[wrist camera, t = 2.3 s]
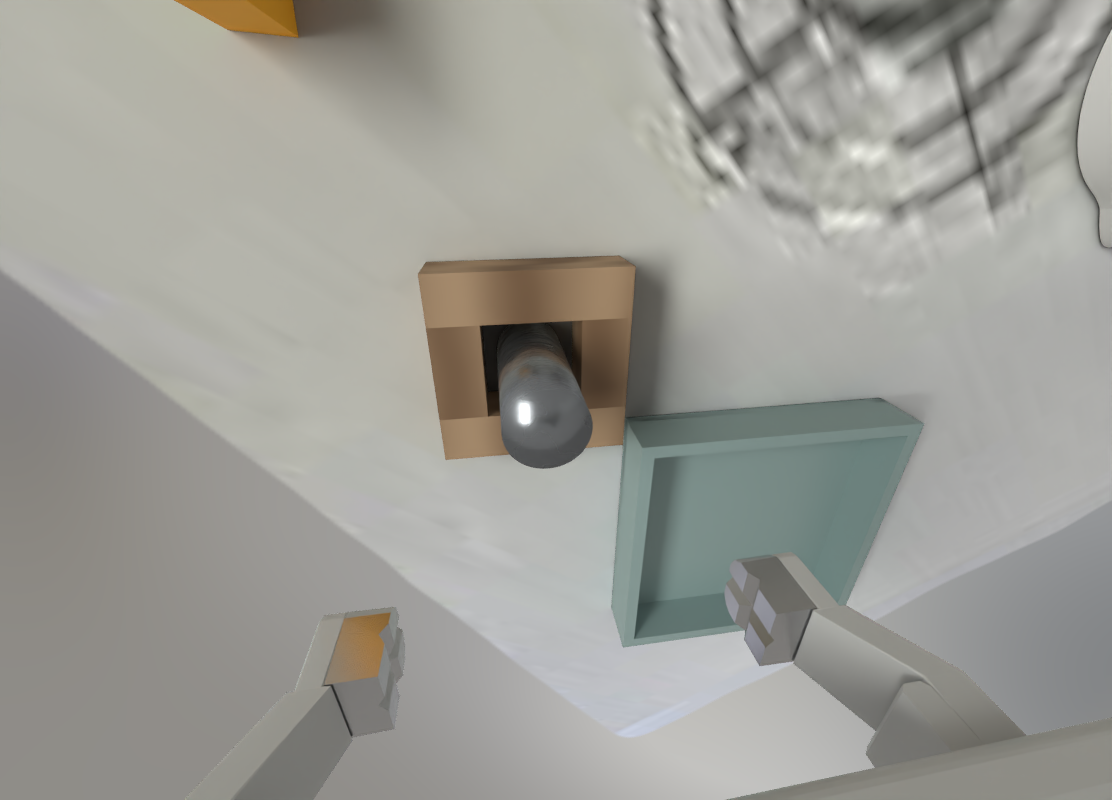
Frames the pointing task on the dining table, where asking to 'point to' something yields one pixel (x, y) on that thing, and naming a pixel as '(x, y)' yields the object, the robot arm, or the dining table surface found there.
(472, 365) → the pin holder
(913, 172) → the dining table surface
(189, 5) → the pipe clamp
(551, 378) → the pin
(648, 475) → the tray
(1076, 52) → the dining table surface
